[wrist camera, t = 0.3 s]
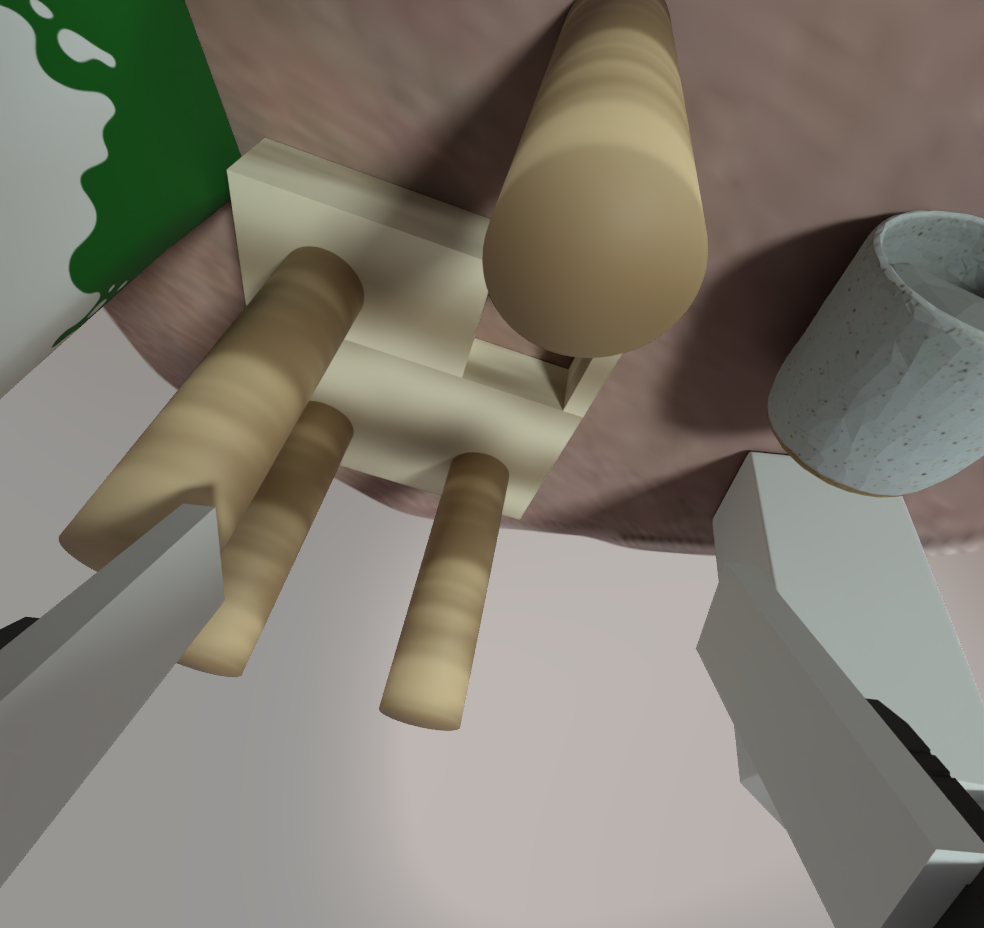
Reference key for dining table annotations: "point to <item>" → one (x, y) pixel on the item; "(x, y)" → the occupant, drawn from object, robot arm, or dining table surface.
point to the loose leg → (601, 192)
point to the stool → (348, 414)
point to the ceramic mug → (892, 362)
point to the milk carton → (857, 603)
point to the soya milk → (97, 158)
